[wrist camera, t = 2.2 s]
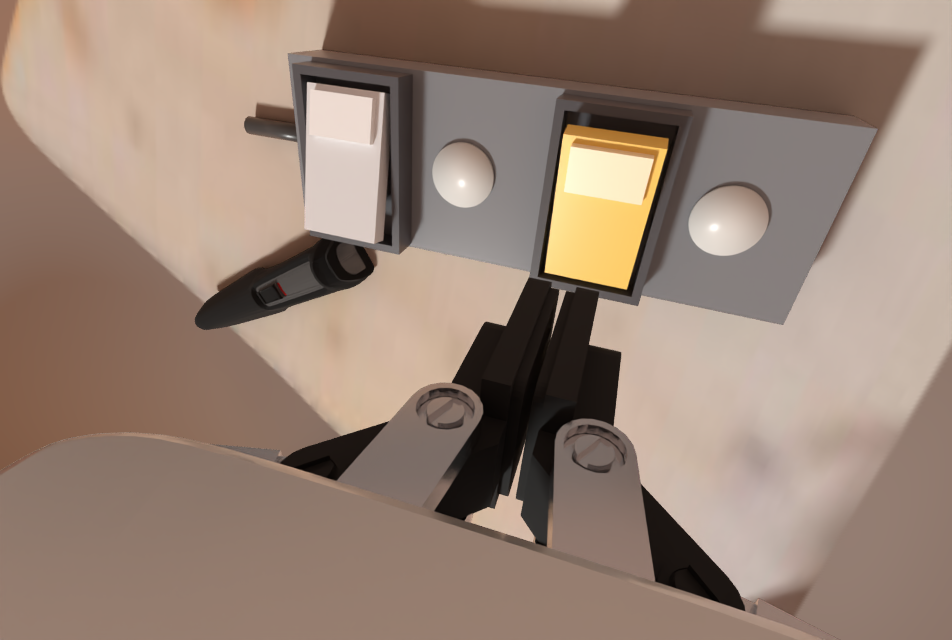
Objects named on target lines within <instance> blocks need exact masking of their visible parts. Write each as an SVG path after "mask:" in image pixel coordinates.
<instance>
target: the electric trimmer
mask: <svg viewBox="0 0 952 640" xmlns="http://www.w3.org/2000/svg"><path fill="white" fill-rule="evenodd" d="M373 270H374V266H373V263H372V261H371V260H370V258H369V256H368V254H367V253H366V251H365V249H364V247H362V246H357V245H352V244H348V243H343V242H338V241H334V240H329V239H324V238H322V239H321V240H320V241H318V242H317V243H316V244H315V245H314V246H313V247H311V248H309V249H307V250H305V251H304V252H302V253H300V254H298V255H296V256H294V257H292V258H291V259H289V260H287V261H285V262H283V263H281V264H279V265H276V266H273V267H271V268H268V269H264V268H257V269H255V270H253V271H251V272H249V273H248V274H246V275H245V276H243V277H242V278H240V279H238V280H237V281H235V282H234V283H232V284H231V285H229V286H228V287H226V288H224V289H223V290H221V291H220V292H218V293H217V294H215V295H214V296H212V297H211V298H210V299H209V300H207V301H206V302H205V303H204V305H203V306H202V308H201V309H200V310H199V312H198V313H197V315H196V317H195V324H196V325H197V326H198V327H199V328H201V329H204V330H209V329H216V328H222V327H228V326H232V325H236V324H240V323H244V322H247V321H251V320H255V319H258V318H262V317H266V316H269V315H273V314H276V313H279V312H282V311H285V310H286V309H287V308H288V307H291V306H293V305H296V304H299V303H302V302H306V301H309V300H312V299H315V298H318V297H321V296H324V295H328V294H331V293H334V292H337V291H340V290H344V289H348V288H351V287H354V286H356V285H358V284H360V283H361V282H362V281H364V280H365V279H366V278H367V277H368V276H369V275H371V273H372V272H373Z"/></svg>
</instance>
